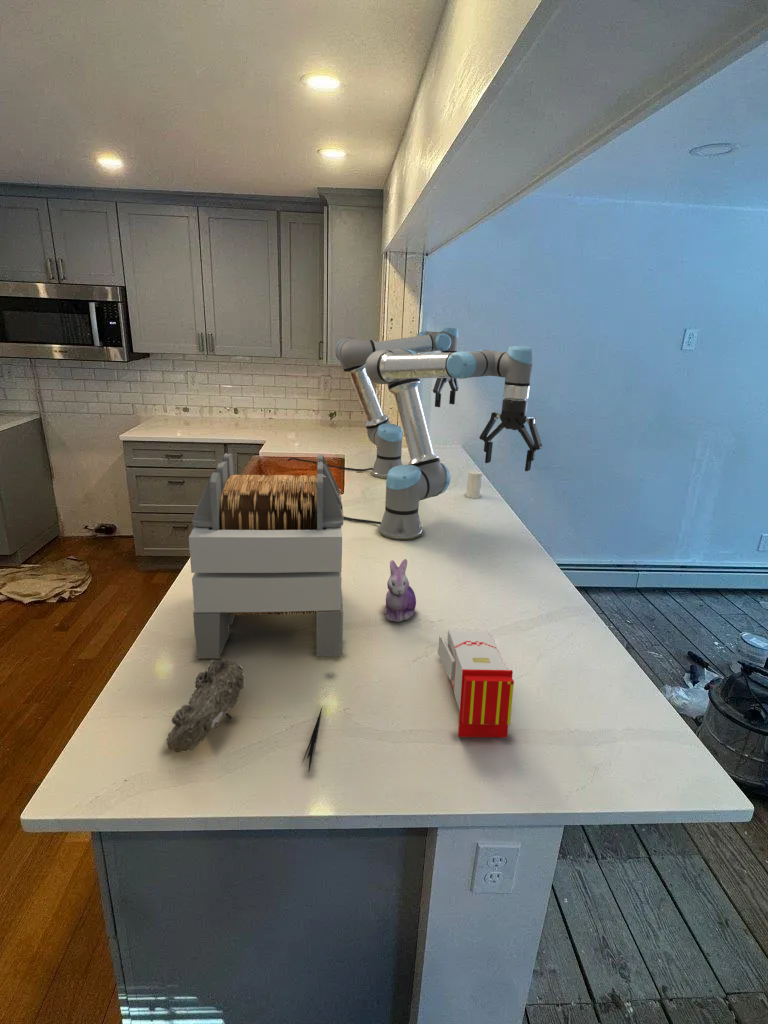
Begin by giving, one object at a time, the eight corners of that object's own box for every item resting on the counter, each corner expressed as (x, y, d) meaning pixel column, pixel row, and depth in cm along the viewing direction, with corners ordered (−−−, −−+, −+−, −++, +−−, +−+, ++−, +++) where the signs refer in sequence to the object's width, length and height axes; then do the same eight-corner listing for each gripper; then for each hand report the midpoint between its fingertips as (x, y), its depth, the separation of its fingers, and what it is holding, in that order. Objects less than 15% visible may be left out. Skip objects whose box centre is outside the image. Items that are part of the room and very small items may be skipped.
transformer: (219, 588, 156) (210, 443, 142) (338, 587, 160) (340, 446, 146) (193, 661, 124) (179, 483, 110) (343, 657, 128) (346, 485, 114)
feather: (331, 679, 122) (336, 673, 122) (307, 777, 96) (313, 769, 95) (324, 675, 122) (329, 669, 121) (298, 772, 95) (304, 764, 95)
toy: (488, 613, 130) (523, 677, 101) (484, 667, 133) (517, 744, 104) (435, 612, 130) (455, 676, 101) (432, 666, 133) (451, 743, 103)
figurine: (392, 627, 141) (395, 572, 136) (374, 608, 149) (376, 556, 144) (425, 619, 145) (429, 566, 140) (405, 601, 154) (408, 550, 149)
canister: (467, 497, 242) (470, 473, 238) (464, 493, 247) (467, 470, 244) (481, 498, 242) (483, 474, 239) (478, 493, 248) (480, 470, 244)
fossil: (192, 660, 117) (244, 628, 112) (224, 691, 120) (276, 661, 115) (142, 746, 98) (202, 712, 93) (182, 779, 101) (242, 748, 96)
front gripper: (559, 402, 169) (549, 471, 176) (483, 393, 183) (477, 457, 190) (550, 405, 163) (540, 476, 171) (473, 395, 177) (466, 461, 184)
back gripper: (441, 363, 262) (437, 409, 269) (467, 360, 281) (463, 403, 288) (427, 361, 266) (424, 407, 273) (454, 359, 285) (451, 402, 292)
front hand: (507, 466), depth 180 cm, fingers open, 13 cm apart
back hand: (444, 405), depth 281 cm, fingers open, 13 cm apart
